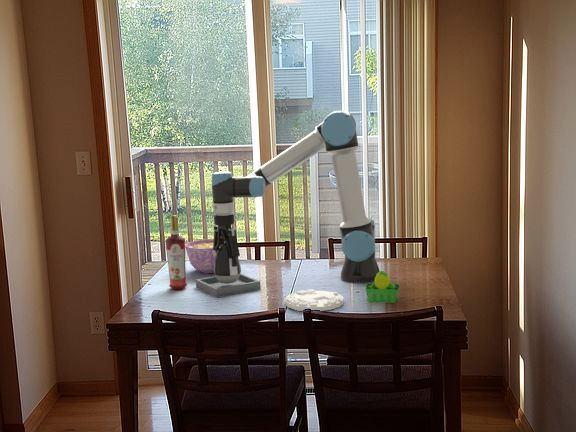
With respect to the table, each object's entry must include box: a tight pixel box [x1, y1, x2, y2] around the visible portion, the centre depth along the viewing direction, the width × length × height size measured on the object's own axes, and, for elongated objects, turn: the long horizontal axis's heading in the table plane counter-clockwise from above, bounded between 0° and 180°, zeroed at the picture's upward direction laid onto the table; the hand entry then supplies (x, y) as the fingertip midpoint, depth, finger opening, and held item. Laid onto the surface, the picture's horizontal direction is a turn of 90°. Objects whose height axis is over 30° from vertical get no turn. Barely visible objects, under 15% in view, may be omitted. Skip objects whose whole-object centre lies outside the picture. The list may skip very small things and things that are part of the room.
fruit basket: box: [364, 270, 401, 304], centre depth 248 cm, size 11×9×11 cm
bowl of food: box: [185, 238, 225, 274], centre depth 302 cm, size 20×20×12 cm
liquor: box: [164, 214, 188, 291], centre depth 275 cm, size 7×7×28 cm
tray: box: [195, 272, 261, 298], centre depth 274 cm, size 18×18×3 cm
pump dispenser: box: [213, 242, 242, 284], centre depth 273 cm, size 10×10×15 cm
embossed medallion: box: [284, 288, 344, 312], centre depth 249 cm, size 20×20×3 cm
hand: (227, 272), depth 273 cm, fingers closed on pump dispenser, 10 cm apart
